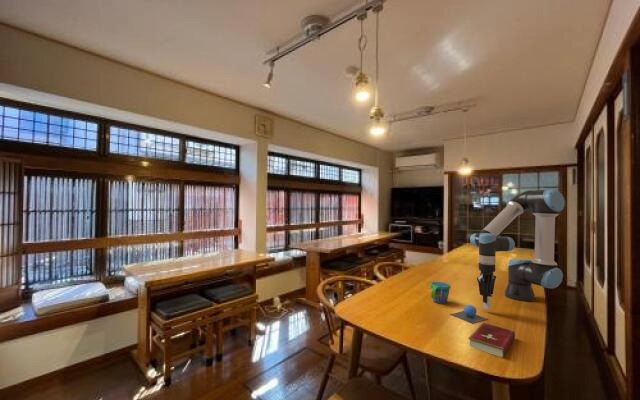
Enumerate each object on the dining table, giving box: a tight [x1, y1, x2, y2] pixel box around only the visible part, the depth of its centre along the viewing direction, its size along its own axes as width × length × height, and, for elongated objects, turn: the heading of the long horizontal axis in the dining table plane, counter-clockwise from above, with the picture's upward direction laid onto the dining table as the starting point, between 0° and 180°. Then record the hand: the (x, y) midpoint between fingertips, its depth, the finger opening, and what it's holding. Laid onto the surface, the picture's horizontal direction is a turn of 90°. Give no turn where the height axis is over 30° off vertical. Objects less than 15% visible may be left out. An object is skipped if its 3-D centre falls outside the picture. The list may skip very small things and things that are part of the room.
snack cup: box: [429, 281, 451, 305], centre depth 163 cm, size 16×10×10 cm
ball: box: [463, 304, 477, 317], centre depth 142 cm, size 6×6×6 cm
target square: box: [449, 310, 489, 325], centre depth 142 cm, size 12×12×1 cm
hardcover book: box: [468, 321, 516, 359], centre depth 116 cm, size 12×21×4 cm, turn 136°
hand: (486, 308), depth 148 cm, fingers closed
